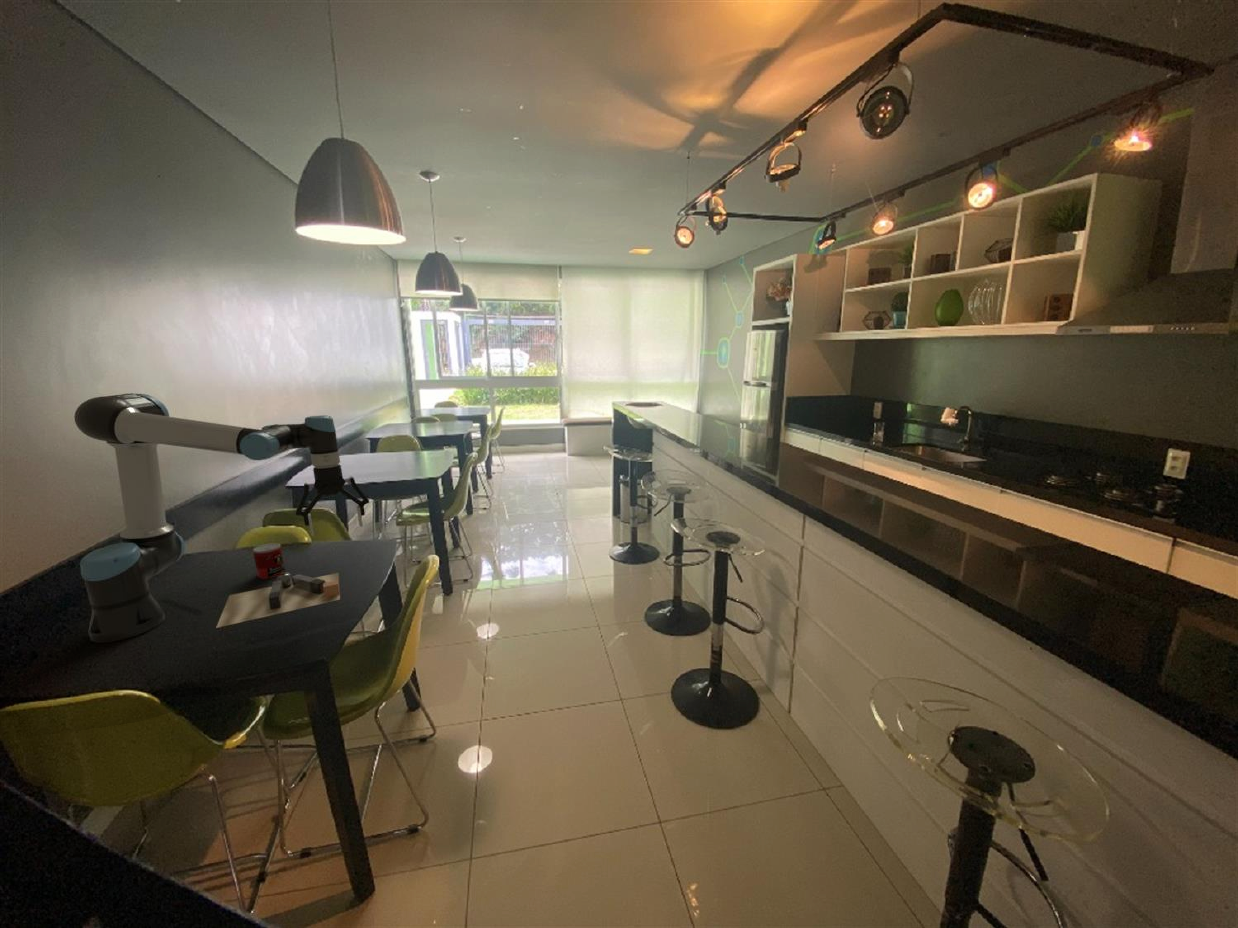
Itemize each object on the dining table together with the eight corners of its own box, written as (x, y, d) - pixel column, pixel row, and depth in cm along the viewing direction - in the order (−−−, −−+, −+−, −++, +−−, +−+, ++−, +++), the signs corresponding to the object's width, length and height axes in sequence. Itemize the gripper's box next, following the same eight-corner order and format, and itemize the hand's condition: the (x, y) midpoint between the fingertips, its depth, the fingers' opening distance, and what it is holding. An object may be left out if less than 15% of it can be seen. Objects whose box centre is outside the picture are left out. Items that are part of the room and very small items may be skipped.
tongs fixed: (276, 585, 159) (273, 574, 158) (292, 582, 161) (291, 571, 160) (270, 609, 144) (268, 597, 143) (289, 605, 146) (287, 593, 145)
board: (216, 631, 135) (216, 627, 135) (230, 598, 153) (229, 595, 153) (340, 602, 150) (339, 599, 149) (339, 575, 168) (338, 572, 168)
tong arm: (293, 587, 158) (291, 576, 157) (300, 583, 160) (298, 573, 159) (319, 594, 153) (317, 584, 152) (326, 591, 155) (325, 580, 154)
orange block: (324, 597, 151) (323, 587, 150) (324, 593, 153) (323, 583, 152) (339, 594, 153) (338, 583, 152) (339, 590, 155) (337, 580, 154)
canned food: (272, 582, 164) (266, 552, 161) (252, 580, 166) (246, 550, 163) (291, 572, 171) (286, 543, 169) (272, 571, 173) (266, 542, 170)
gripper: (278, 474, 142) (291, 542, 146) (372, 461, 155) (381, 524, 160) (278, 469, 148) (290, 535, 152) (369, 458, 161) (378, 518, 166)
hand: (337, 529), depth 156 cm, fingers open, 13 cm apart
